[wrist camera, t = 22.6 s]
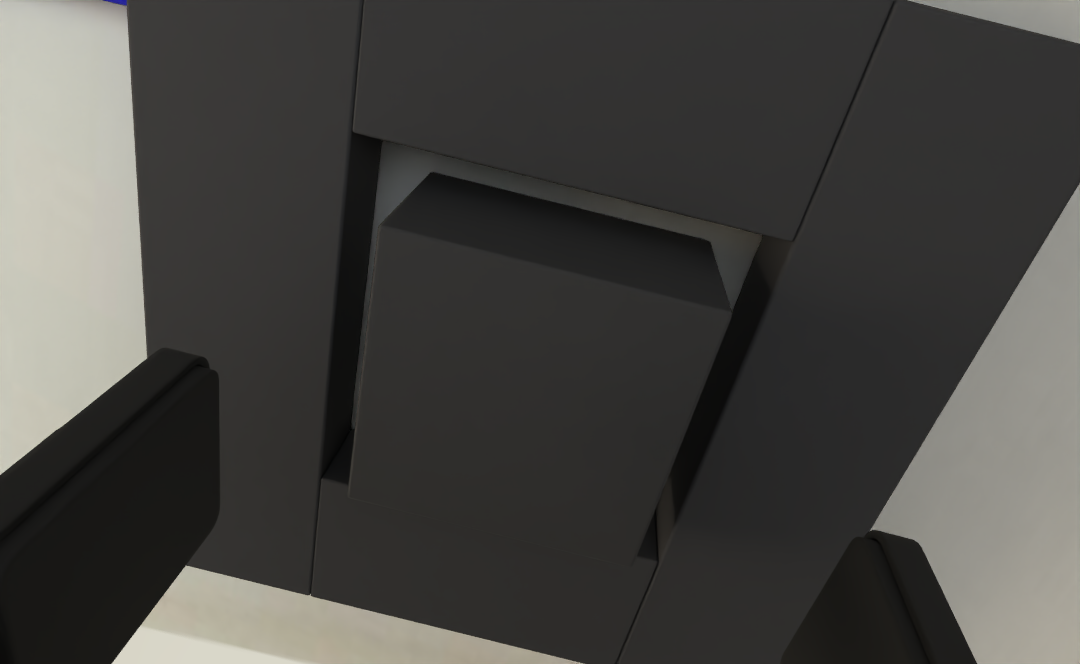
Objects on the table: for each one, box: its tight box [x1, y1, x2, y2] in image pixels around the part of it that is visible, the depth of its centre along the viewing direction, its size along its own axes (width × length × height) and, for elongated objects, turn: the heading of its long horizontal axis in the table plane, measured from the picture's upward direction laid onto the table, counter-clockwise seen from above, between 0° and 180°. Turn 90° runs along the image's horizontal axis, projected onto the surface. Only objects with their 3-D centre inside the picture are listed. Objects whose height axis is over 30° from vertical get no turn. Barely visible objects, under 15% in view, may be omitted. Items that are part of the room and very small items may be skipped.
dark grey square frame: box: [127, 0, 1080, 664], centre depth 15 cm, size 16×16×2 cm
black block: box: [348, 172, 732, 567], centre depth 14 cm, size 6×6×4 cm
